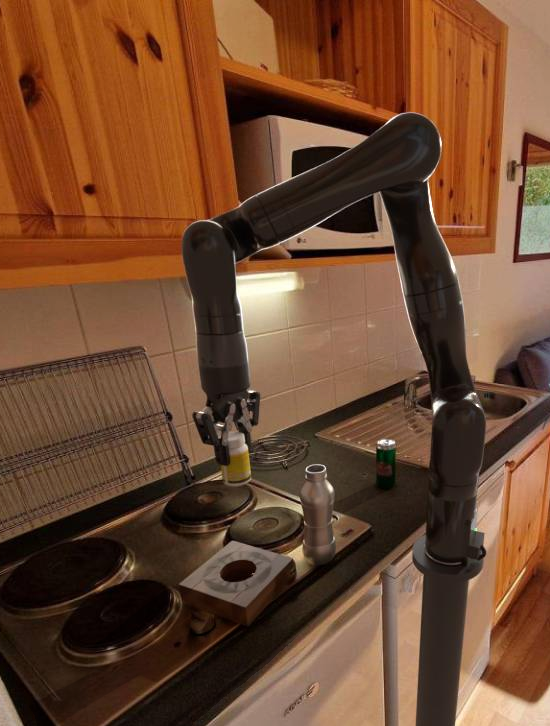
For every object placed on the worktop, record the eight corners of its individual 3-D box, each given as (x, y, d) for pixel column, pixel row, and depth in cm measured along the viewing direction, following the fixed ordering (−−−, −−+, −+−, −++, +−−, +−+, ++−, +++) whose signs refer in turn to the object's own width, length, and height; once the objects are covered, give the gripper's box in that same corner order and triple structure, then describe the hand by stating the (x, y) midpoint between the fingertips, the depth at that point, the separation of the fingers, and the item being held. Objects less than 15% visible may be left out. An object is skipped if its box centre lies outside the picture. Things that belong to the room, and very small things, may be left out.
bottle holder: (294, 575, 90) (293, 558, 89) (247, 626, 78) (245, 607, 77) (234, 557, 95) (232, 540, 94) (181, 602, 83) (178, 584, 82)
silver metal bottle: (296, 559, 95) (290, 468, 87) (323, 545, 99) (319, 457, 92) (316, 574, 90) (311, 480, 83) (343, 559, 95) (341, 468, 87)
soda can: (373, 487, 122) (373, 444, 118) (379, 478, 127) (380, 437, 122) (392, 490, 121) (392, 447, 116) (397, 482, 125) (398, 439, 121)
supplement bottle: (257, 478, 84) (252, 434, 80) (236, 489, 80) (231, 443, 77) (237, 472, 86) (232, 428, 83) (217, 482, 82) (210, 437, 79)
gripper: (209, 373, 67) (223, 480, 74) (270, 353, 80) (278, 446, 86) (169, 367, 70) (186, 471, 77) (234, 348, 82) (244, 439, 89)
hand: (234, 457), depth 81 cm, fingers closed on supplement bottle, 4 cm apart
